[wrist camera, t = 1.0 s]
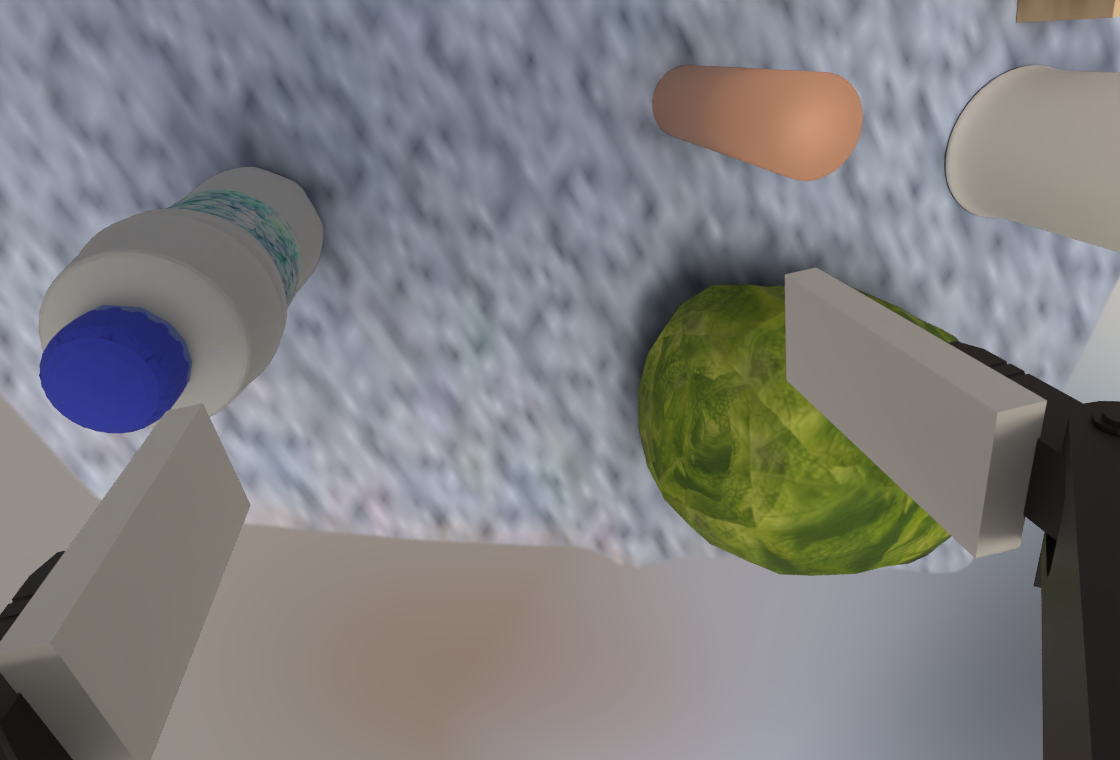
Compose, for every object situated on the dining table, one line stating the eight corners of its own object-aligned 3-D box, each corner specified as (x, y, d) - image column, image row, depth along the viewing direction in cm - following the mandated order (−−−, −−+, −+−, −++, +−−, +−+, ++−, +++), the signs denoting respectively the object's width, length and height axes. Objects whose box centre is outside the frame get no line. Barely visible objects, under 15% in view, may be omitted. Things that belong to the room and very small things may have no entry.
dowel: (647, 73, 36) (762, 85, 23) (713, 58, 36) (862, 61, 23) (657, 144, 37) (769, 191, 25) (720, 129, 38) (862, 167, 25)
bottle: (168, 226, 35) (-107, 406, 17) (248, 127, 34) (41, 212, 16) (280, 310, 38) (143, 539, 20) (359, 221, 36) (287, 383, 19)
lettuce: (821, 477, 53) (1028, 581, 40) (590, 523, 43) (770, 681, 30) (864, 267, 48) (1113, 309, 36) (617, 262, 38) (843, 319, 26)
